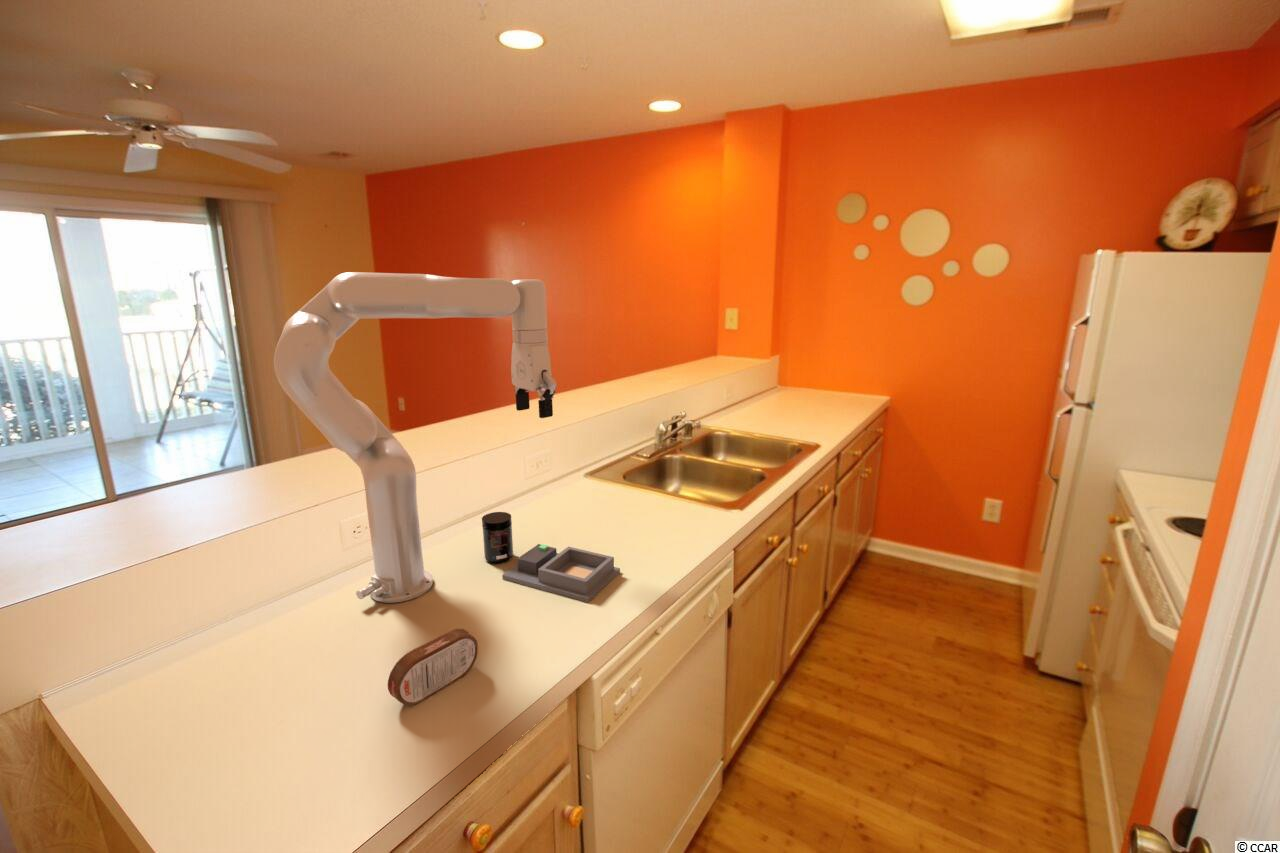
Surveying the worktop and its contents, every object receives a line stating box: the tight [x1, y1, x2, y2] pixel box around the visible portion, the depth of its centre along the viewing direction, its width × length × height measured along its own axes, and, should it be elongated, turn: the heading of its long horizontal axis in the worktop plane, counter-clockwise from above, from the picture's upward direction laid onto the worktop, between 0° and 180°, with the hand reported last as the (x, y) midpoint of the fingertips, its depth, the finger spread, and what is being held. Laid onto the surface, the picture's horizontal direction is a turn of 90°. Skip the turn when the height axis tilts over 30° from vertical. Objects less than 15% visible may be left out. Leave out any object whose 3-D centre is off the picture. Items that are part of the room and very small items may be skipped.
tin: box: [387, 628, 479, 706], centre depth 94 cm, size 15×3×8 cm, turn 141°
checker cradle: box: [501, 543, 621, 603], centre depth 129 cm, size 14×22×5 cm, turn 64°
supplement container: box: [481, 511, 514, 565], centre depth 137 cm, size 7×7×10 cm
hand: (534, 413), depth 132 cm, fingers open, 9 cm apart
